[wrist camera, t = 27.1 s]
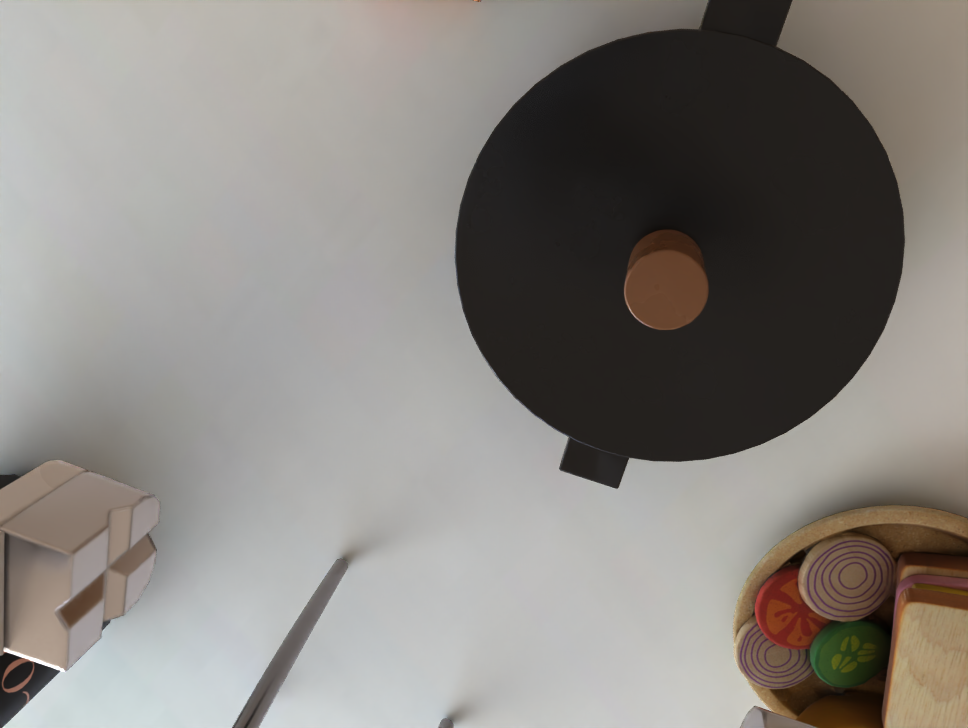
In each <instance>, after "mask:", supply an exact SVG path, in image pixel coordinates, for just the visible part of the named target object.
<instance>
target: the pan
mask: <svg viewBox="0 0 968 728" xmlns="http://www.w3.org/2000/svg"><path fill="white" fill-rule="evenodd" d="M791 3H792V0H708V3H707V6H706V10H705V13H704V16H703V19H702V22H701V25H700V28H699V30H715V31H720V32H726V33H731V34H737V35H742V36H746V37H749V38H752V39H755V40H758V41H761V42H764V43H767V44H770V45H773V46H776V45H777V42H778V40H779V37H780V34H781V31H782V28H783V26H784V23H785V20H786V17H787V14H788V12H789V9H790V6H791ZM628 460H629V458H628V457H624V456H620V455H616V454H612V453H608V452H604V451H601V450H598V449H596V448H593V447H591V446H588V445H586V444H583V443H580V442H578V441H576V440H574V439H572V438H570V437H569V438H568V441H567V445H566V448H565V451H564V454H563V457H562V460H561V464H560V468H559V469H560V470H561V471H564V472H567V473H570V474H573V475H576V476H579V477H582V478H585V479H588V480H591V481H594V482H597V483H601V484H604V485H607V486H610V487H613V488H616V489H617V488H618V487H619V485H620V482H621V479H622V477H623V474H624V471H625V468H626V465H627V463H628Z"/></svg>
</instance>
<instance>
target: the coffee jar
mask: <svg viewBox="0 0 968 728" xmlns="http://www.w3.org/2000/svg"><path fill="white" fill-rule="evenodd" d="M20 477H22V476H19V475H15V474H12V475H0V489H2V488H4V487H5V486H7V485H9V484H10V483H12V482H14V481H15V480H17V479H19V478H20ZM109 623H110V620H108V621H105V622H102V630H103V629H104V628H105V627H106V626H107V625H108V624H109ZM60 671H61V670H58V669H55V668H52V667H49V666H46V665H43V664H41V663H38V662H35V661H32V660H29V659H26V658H23V657H20V656H18V655H15V654H12V653H9V652H6V651H4V653H3V655H1V656H0V728H2V727H3V726H4V725H5V724H7V723H8V722H9V721H10V720H11V719H12V718H13V717H14V716H15V715H16V714H17V713H18V712H19V711H20V710H21V709H22V708H23V707H24V706H25V705H26V704H27V703H28V702H29V701H30V700H31V699H32V698H33V697H34V696H35V695H36V694H37V693H38V692H39V691H41V690H42V689H43V688H44V687H45V686H46V685H47V684H48V683H49V682H50V681H51V680H52V679H53V678H54V677H55V676H56V675H57V674H58V673H59V672H60Z"/></svg>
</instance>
